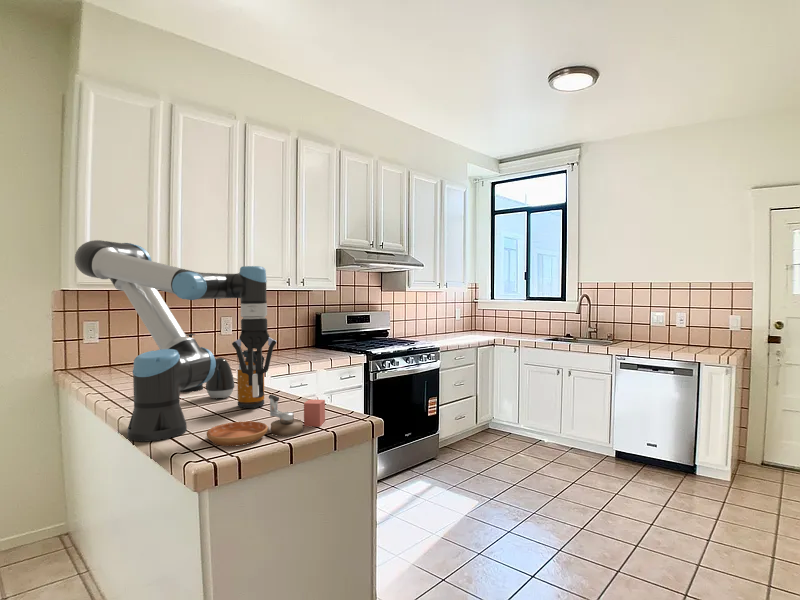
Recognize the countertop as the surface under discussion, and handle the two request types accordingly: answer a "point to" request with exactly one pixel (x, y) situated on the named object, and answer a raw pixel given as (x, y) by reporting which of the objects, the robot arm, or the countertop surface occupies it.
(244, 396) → the canister
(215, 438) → the saucer
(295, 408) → the countertop surface
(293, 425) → the hub plate
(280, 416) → the crank
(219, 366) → the black rounded egg shape
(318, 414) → the block
